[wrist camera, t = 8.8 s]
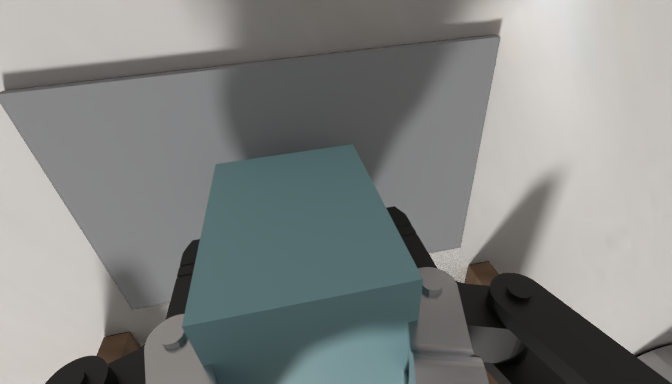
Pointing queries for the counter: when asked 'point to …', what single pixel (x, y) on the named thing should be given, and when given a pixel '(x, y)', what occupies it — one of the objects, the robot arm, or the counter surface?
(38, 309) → the counter surface
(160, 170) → the rubber mat
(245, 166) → the teal block
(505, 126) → the counter surface
